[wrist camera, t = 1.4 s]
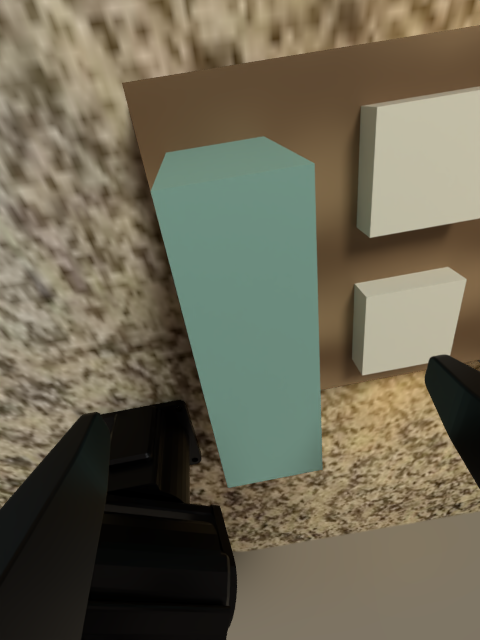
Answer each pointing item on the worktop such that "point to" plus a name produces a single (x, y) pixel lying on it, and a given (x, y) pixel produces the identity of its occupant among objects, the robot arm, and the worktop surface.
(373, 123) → the tile
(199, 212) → the tapered teal post
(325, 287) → the board
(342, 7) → the worktop surface
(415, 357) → the tile
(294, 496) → the worktop surface
